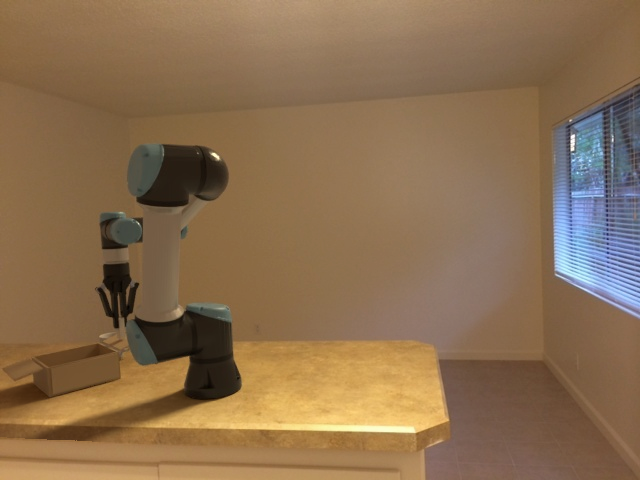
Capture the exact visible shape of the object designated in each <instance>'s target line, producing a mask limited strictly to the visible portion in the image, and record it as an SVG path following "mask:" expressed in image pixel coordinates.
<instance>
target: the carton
mask: <svg viewBox="0 0 640 480" xmlns="http://www.w3.org/2000/svg"><path fill="white" fill-rule="evenodd" d="M30 359H31V360H32V361H34V362H35V363H36V364H38V365H39V366H41V367H42V368H43V370H41V371H39V372H36V373H34V374H32V381H33V385H34V386H36V388H38V389H39V390H40V391H41V392H43V393H44V394H45V395H46V396H47V397H49V398H53V397H57V396H61V395H65V394H69V393H72V392H76V391H79V390H83V389H87V388H90V386H91V387H94V385H95V386H98V385H102V384H106V383H109V381H110V382H113V381H117V380H121V379H122V375H121V362H120V359H121V358H119V352H118V351H116V350H114V349H112V348H110V347H108V346H105V345H103V344H101V343H100V342H95V343H90V344H86V345H81V346H77V347H72V348H71V347H70V348H67V349H62V350H57V351H53V352H48V353H43V354H37V355H35V356H34V355H33V356H31V358H30ZM120 378H121V379H120ZM116 379H117V380H116ZM112 380H113V381H112ZM105 382H106V383H105ZM101 383H102V384H101Z"/></svg>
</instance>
